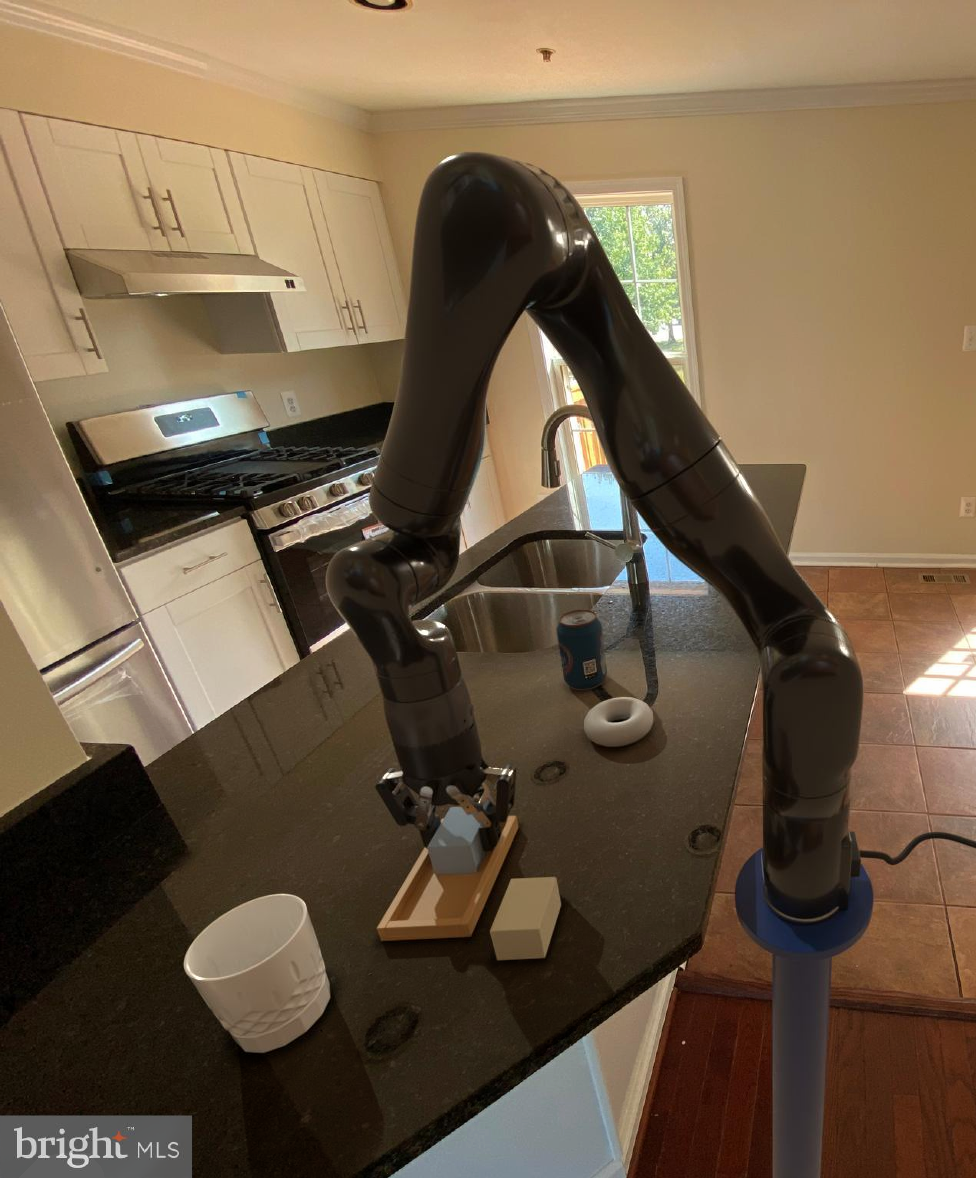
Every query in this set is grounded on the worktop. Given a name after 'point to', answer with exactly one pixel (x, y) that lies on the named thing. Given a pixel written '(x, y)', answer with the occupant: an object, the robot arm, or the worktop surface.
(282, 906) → the white cup
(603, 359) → the robot arm
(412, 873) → the frame
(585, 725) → the donut
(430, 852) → the pad
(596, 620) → the soda can
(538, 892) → the pad
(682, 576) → the worktop surface
